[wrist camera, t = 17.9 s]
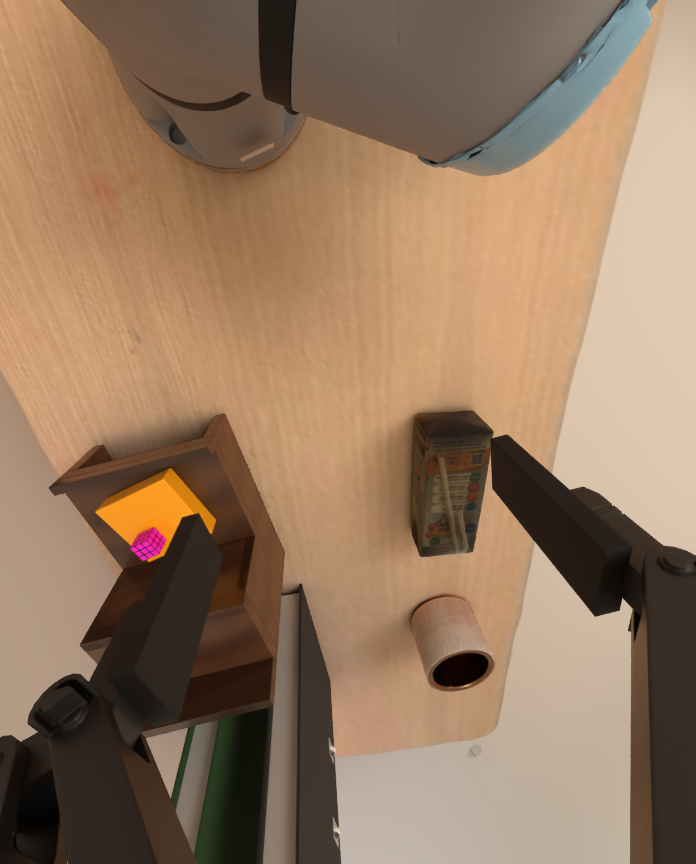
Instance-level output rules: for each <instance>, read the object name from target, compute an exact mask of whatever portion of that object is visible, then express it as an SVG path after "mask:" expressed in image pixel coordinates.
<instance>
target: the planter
mask: <svg viewBox="0 0 696 864" xmlns="http://www.w3.org/2000/svg"><path fill="white" fill-rule="evenodd" d="M411 627H412V631H413V635H414V638H415V641H416V644H417V648H418V651H419V654H420V657H421V661H422V664H423V668H424V671H425V674H426V678H427V681H428V683H429V684H430V686H432V687H433V688H435V689H437V690H440V691H447V692H453V691H461V690H465V689H468V688H471V687H473V686H476V685H478V684H479V683H481V682H483V681H484V680H485V679H486V678H488V676H489V675H490V674H491V673H492V671H493V670H494V667H495V660H494V658H493V655H492V653H491V651H490V649H489V647H488V645H487V642H486V640H485V638H484V636H483V634H482V631H481V629H480V627H479V625H478V623H477V620H476V618H475V616H474V614H473V611H472V609H471V607H470V606H469V604H468V603H467V602H466V601H464V600H463V599H460V598H457V597H450V596H445V597H438V598H434V599H432V600H429V601H427V602H426V603H424V604H423V605H421V606H420V607H419V608H418V609H417V610H416V611H415V613H414V614H413V616H412V619H411Z"/></svg>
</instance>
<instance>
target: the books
mask: <svg viewBox="0 0 696 864" xmlns="http://www.w3.org/2000/svg"><path fill="white" fill-rule="evenodd" d="M276 664H277V667H276V681H275V696H274V706H272V707H268V708H264V709H260V710H256V711H252V712H248V713H244V714H240V715H236V716H232V717H228V718H224V719H220V720H216V721H212V722H208V723H204V724H200V725H196V726H192V727H188V731H187V735H186V739H185V743H184V747H183V752H182V756H181V760H180V764H179V768H178V772H177V776H176V780H175V784H174V788H173V792H172V796H171V801H172V804H173V806H174V808H175V811H176V813H177V816H178V818H179V821H180V823H181V825H182V828H183V830H184V833H185V835H186V838H187V840H188V842H189V845H190V847H191V850H192V852H193V855H194V857H195V859H196V862H197V864H341V856H340V839H339V836H340V834H341V830H340V829H339V824H338V823H339V822H338V805H337V789H336V773H335V753H336V749H335V748H334V738H333V721H332V704H331V688H330V679H329V675H328V672H327V669H326V665H325V662H324V658H323V655H322V652H321V648H320V645H319V641H318V638H317V635H316V631H315V628H314V624H313V621H312V618H311V614H310V611H309V607H308V604H307V601H306V597H305V594H304V590H303V587H302V584H300V593H296V594H290V595H285V596H282V595H281V610H280V624H279V638H278V652H277V663H276Z"/></svg>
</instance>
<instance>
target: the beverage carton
mask: <svg viewBox="0 0 696 864" xmlns="http://www.w3.org/2000/svg"><path fill="white" fill-rule="evenodd" d="M493 433H494V432H493V430H492V429H491V428H490V427H489V426H488V425H487V424H486V423H485V422H484V421H483V420H482V419H481V418H480V417H479V416H478V415H477V414H476V413H475V412H474V411H461V412H440V413H420V414H417V415H416V423H415V435H414V454H413V480H412V523H411V530H412V536H413V539H414V542H415V544H416V546H417V549H418V552H419V555H420V556H421V557H430V556H438V555H448V554H462V553H470V552H473V549H474V544H475V540H476V533H477V529H478V523H479V518H480V512H481V506H482V501H483V495H484V490H485V483H486V478H487V471H488V465H489V459H490V453H491V446H490V439H491V438H492V437H493Z"/></svg>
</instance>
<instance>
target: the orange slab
mask: <svg viewBox="0 0 696 864" xmlns="http://www.w3.org/2000/svg"><path fill="white" fill-rule="evenodd" d="M95 513H96V514H97V515H99V516H100V517H101V518H102V519H103V520H104V521H105V522H106V523H107V524H108V525H109V526H110V527H111V528H113V529H114V530H115V531H116V532H117V533H118V534H119V535H120V536H121V537H122V538H123V539H124V540H126V541H127V542H128V543H129V544H130V545H131V547H130V550H131V551H132V552H134V553H135V554H136V555H137V556H138V557H139V558H140V559H141V560H142V561H145V560H147V561H148V562H151V561H153V560H155V559H158V558H160V557H162V556H164V555H165V553H166V550H167V548H168V546H169V544H170V542H171V540H172V538H173V536H174V533H175V531H176V529H177V527H178V525H179V523H180V521H181V519H182V517H185V516H189V515H193V514H197V513H199V514H200V516H201V517H202V519H203V521H204V523H205V525H206V527H207V528H208V530H209V532H210V534H212V532H213V529H214V526H215V523H216V519H215V518H214V517H213V516H212V515H211V513H210V512H209V511H208V510H207V509H206V508H205V506H204V505H203V504H202V503H201V502H200V501H199V500H198V498H197V497H196V496H195V495H194V494H193V493H192V491H191V490H190V489H189V488H188V487H187V486H186V485H185V483H184V482H183V481H182V480H181V479H180V478H179V476H178V475H177V474H176V473H175V472H174V471H173V470H172V468H168V469H166V470H164V471H162V472H160V473H158V474H156V475H154V476H151V477H149V478H147V479H145V480H143V481H141V482H139V483H137V484H135V485H133V486H131V487H129V488H127V489H125V490H123V491H121V492H119V493H117V494H115V495H112V496H110V497H108V498H106V499H105V500H104V502H103V503H102V504H101V505H100V507H99V508H98V509H97V510H96V512H95Z"/></svg>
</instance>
